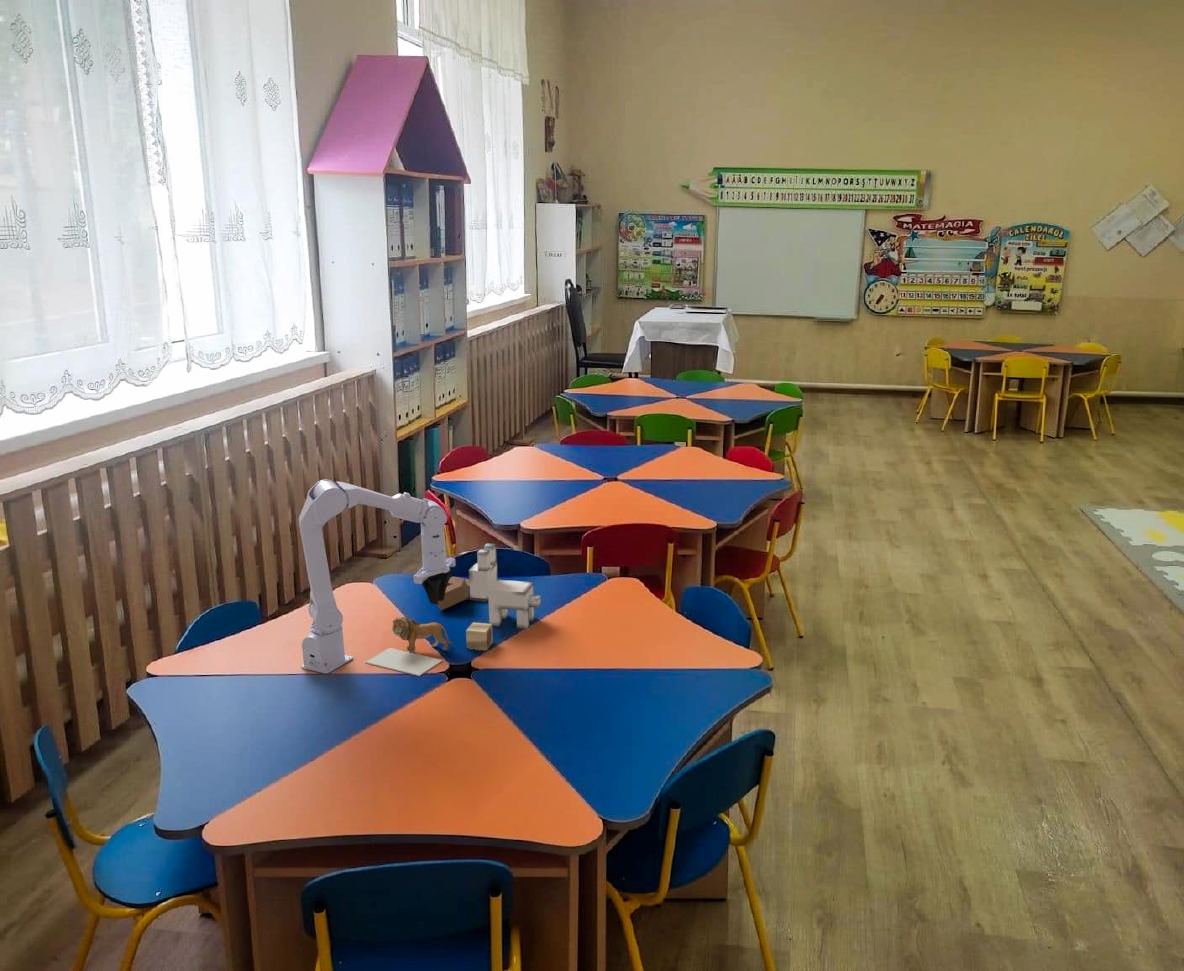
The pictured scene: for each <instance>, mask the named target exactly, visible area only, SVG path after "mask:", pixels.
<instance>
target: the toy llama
mask: <svg viewBox="0 0 1184 971" xmlns="http://www.w3.org/2000/svg"><path fill="white" fill-rule="evenodd" d="M476 555H477V560H476V561H477V562H476V563H474V564H473V565H472V566H471V567H470V568H469V569H468V578H469V579H468V580H469V583H470V597H472V598H485V599H486V600H488V616H489V618H488V621H489V624H492V627H500V626H501V624H503V620H506V619H507V617H508V616H509V612H508V610H513V611H516V629H525V630H527V629H528V627H529V626H530V622H533V621H534V620H535V617H536V616H535V615H536V613H535V612H536V611H535V609H538V608H539V607H540V606H541V595H540V594H535V585H534V584H535V583H534V581H533V582H532V581H519V580H507V579H498V559H497V543H491V542H490V543H489V542H488V543H485V545H484V546H483V548H482V549H479V550H478V551H476Z"/></svg>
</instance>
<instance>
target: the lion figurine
mask: <svg viewBox="0 0 1184 971" xmlns="http://www.w3.org/2000/svg"><path fill="white" fill-rule="evenodd" d="M392 632H393V634H394V635H395V636H396V637H399V638H400V639H401V640H402V641H407V642H408V646H407V647H406V649H407V650H408V652H410V653H415V651H416V641H417V640H423V639H424V640H425V639H427V638H429V637H431V636H433V638H434V639H435V640H434V641H435V643H432V644H431V647H432V648H435V647H437V646H438V645H439V643H441V644H442V645H443V646H442V647H441V650H442V651H447V650H448V647H449V646H448V645H451V646H454V642H452V641H450V640H449V637H448V636H449V635H448V634H447V631H446V629H445V627H444V626H443V625H442V624H441V623H438V622H435V621H434V622H430V623H421V624H420V623H418V622H417V621H415V620H414V619H411V618H408V617H405V616H397V617H396V618H394V619H393V620H392ZM442 633H443V634H442ZM443 635H444V636H443ZM444 637H445V638H444Z"/></svg>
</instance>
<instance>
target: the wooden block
mask: <svg viewBox="0 0 1184 971" xmlns="http://www.w3.org/2000/svg"><path fill="white" fill-rule="evenodd" d="M465 600H469V601H475V602H487V599H485V598H472V597H470V583H469V579H468V578H465V577H460V576H459V577H457V576H451V577H450V579H449V582H448V584H447V587H446V592H445V597H444V600H443V601H439V600H438V604H437V607H438V608H439V610H440V611H444V610H446V609H448V608H450V607H452V606H454V605H457V604H458V603H461V602H463V601H465Z"/></svg>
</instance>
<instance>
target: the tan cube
mask: <svg viewBox="0 0 1184 971" xmlns="http://www.w3.org/2000/svg"><path fill="white" fill-rule="evenodd" d="M493 636H494V635H493V626H492V624H490V623H485V622H483V623H482V622H472V623H471V624H470V625H469V626H468V627H467V629H466V630H465V638H466V649H467V648H469V649H468V650H473V649H475V651H485V650H486V651H487V650H488V649H489V648H490V647H491V646H492V644H493V643H494V640H493V639H494V637H493ZM489 646H490V647H489Z"/></svg>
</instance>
